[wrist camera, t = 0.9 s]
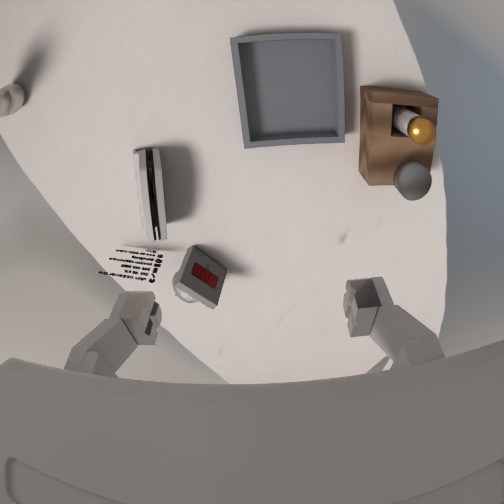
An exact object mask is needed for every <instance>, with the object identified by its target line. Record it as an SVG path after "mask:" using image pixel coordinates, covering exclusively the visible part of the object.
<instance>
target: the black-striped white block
mask: <svg viewBox="0 0 504 504" xmlns="http://www.w3.org/2000/svg"><path fill="white" fill-rule="evenodd" d="M150 153H151V161H149V162H148V151H145V149H144V150H140V151H137V152H136V150H133V157H134V168H135V178H136V187H137V195H138V203H139V210H140V217H141V224H142V227H143V228H146V232H147V238H148V242H155V241H154V240H156V232H155V227H157V230H158V237H159V240H160V239H161V241H162V240H165V239H167V228H166V216H165V204H164V192H163V180H162V167H161V160H160V152H159V149H157V148H153V150H150ZM150 181H153V190H154V199H152V197H151V187H150ZM154 217H156V218H155V219H154Z"/></svg>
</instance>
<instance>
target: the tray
mask: <svg viewBox="0 0 504 504" xmlns="http://www.w3.org/2000/svg"><path fill="white" fill-rule="evenodd" d="M230 43H231V51H232V58H233V65H234V73H235V80H236V88H237V95H238V103H239V110H240V118H241V125H242V133H243V141H244V148H245V149H246V148H256V147H268V146H281V145H296V144H316V143H345V102H344V71H343V53H342V38H341V34H338V33H279V34H263V35H252V36H242V37H234V38H230Z"/></svg>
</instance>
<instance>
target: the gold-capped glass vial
mask: <svg viewBox="0 0 504 504" xmlns="http://www.w3.org/2000/svg"><path fill="white" fill-rule="evenodd" d="M391 125H392V126H394V127H395V128H397V129H398V130H400V131H401V132H402V133H404V134H405V135H407V136H408V137H409V138H411V139H412V140H413V141H415V142H416V143H417V144H419V145H422V146H426V145H429V144H430V143H431V142H432V141H433V140H434V138H435V135H436V130H435V126H434V125H433V123H432V122H431V121H429V120H427V119H425V118H424V117H422V116H420V115H418V114H416V113H414V112H412V111H411V110H409V109H407V108H405V107H403V106H401V105H399V104H392V124H391Z"/></svg>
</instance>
